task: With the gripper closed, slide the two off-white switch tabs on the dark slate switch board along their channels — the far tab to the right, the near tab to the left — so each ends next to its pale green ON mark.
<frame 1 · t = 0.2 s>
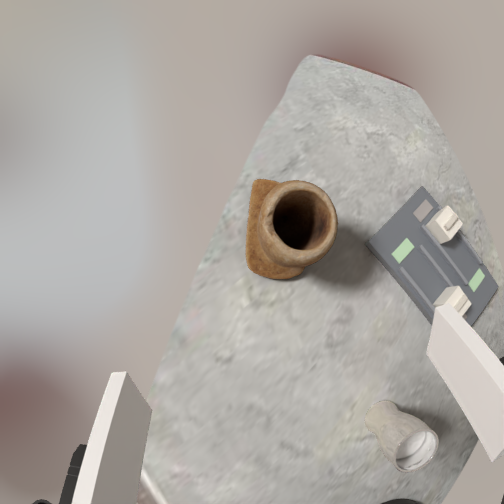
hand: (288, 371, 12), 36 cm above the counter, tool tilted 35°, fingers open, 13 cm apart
switch board: (437, 267, 46), on the counter
stone cup: (285, 232, 49), on the counter
tab a: (453, 304, 41), point 5 cm above the counter, slide at 0.0 cm
beer glass: (380, 416, 43), on the counter
tab b: (444, 224, 43), point 5 cm above the counter, slide at 0.0 cm
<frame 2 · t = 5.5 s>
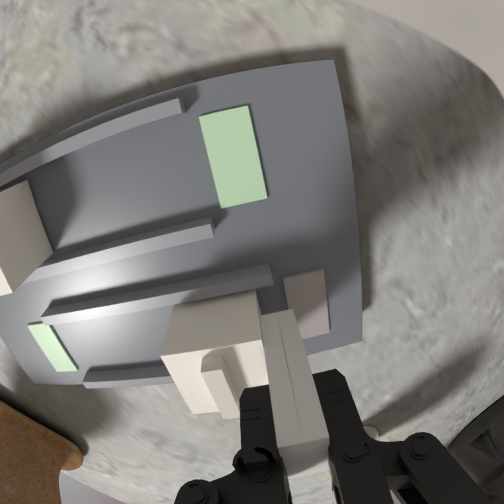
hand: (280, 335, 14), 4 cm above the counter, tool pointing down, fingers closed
switch board: (126, 257, 16), on the counter
stone cup: (29, 420, 24), on the counter
tab a: (223, 357, 13), point 5 cm above the counter, slide at 0.4 cm, touching gripper
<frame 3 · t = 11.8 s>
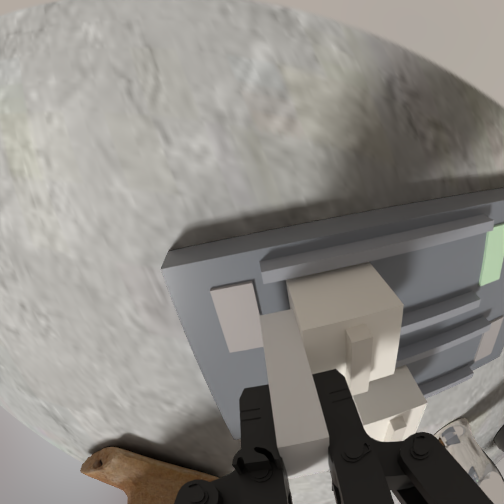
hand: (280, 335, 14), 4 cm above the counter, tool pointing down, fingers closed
switch board: (388, 317, 19), on the counter
stone cup: (161, 464, 26), on the counter
tab a: (383, 412, 16), point 5 cm above the counter, slide at 6.7 cm
beer glass: (447, 431, 29), on the counter
tab b: (343, 331, 13), point 5 cm above the counter, slide at 0.5 cm, touching gripper
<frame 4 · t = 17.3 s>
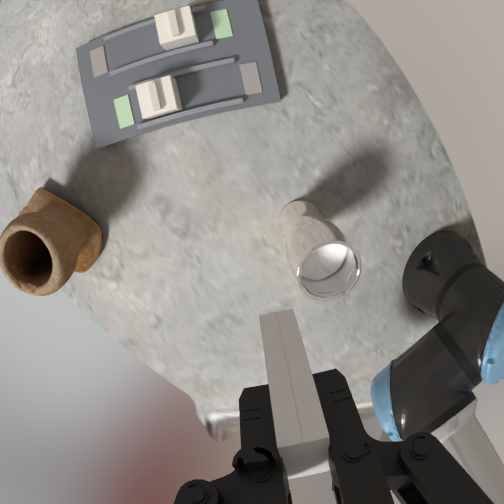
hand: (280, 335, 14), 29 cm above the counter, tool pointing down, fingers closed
switch board: (173, 68, 33), on the counter
stone cup: (65, 221, 41), on the counter
tab a: (159, 97, 31), point 5 cm above the counter, slide at 6.7 cm
beer glass: (299, 220, 43), on the counter
tab b: (176, 28, 27), point 5 cm above the counter, slide at 6.9 cm
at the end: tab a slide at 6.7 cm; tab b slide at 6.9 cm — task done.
